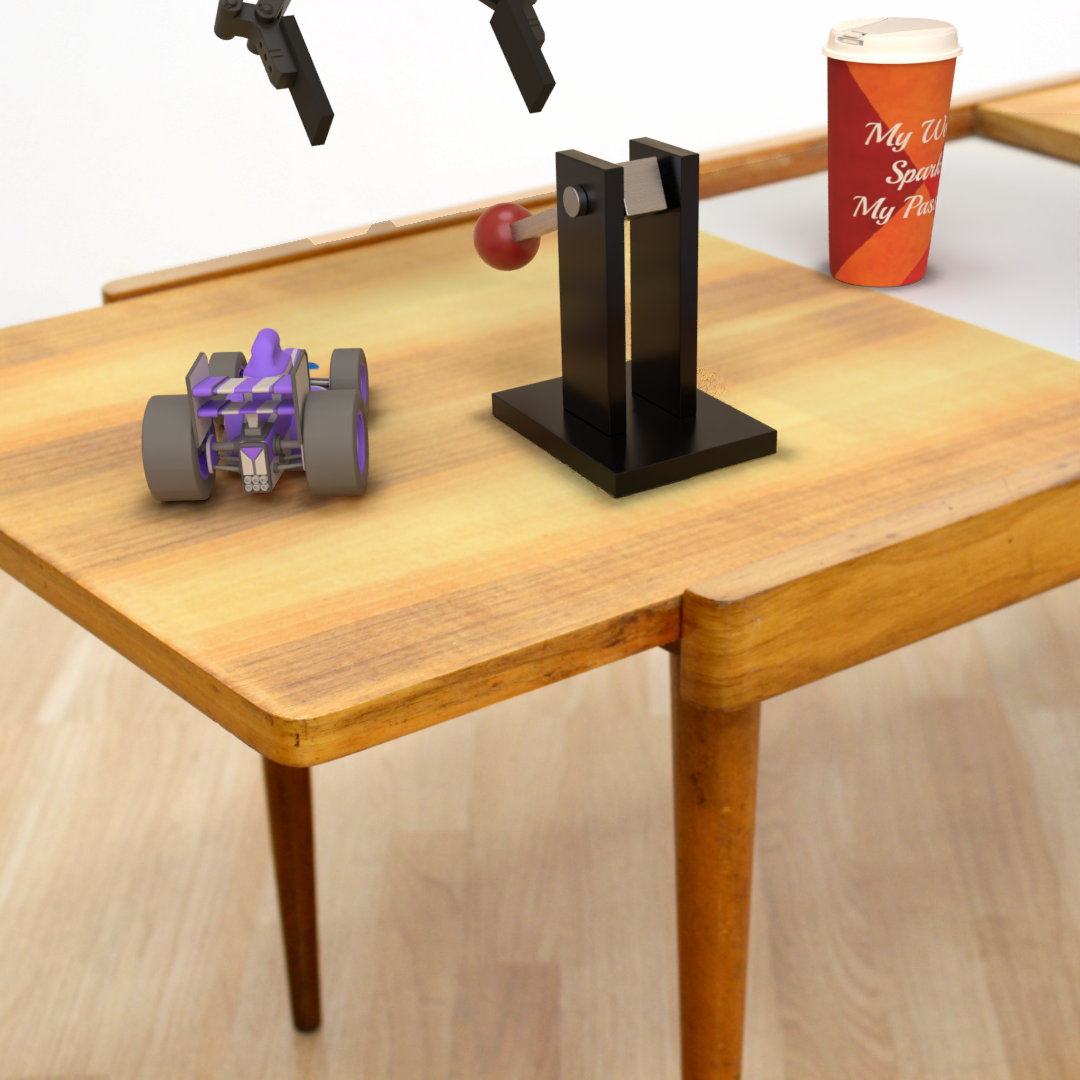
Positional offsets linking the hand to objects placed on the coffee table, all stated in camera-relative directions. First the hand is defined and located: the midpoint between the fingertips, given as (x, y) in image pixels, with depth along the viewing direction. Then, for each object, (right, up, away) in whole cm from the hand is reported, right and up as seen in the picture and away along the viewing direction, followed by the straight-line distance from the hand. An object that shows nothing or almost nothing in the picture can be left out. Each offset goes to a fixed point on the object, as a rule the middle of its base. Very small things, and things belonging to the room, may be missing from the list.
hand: (436, 115), depth 86 cm
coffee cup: (+27, -7, +12) cm, 30 cm away
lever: (+7, -9, -9) cm, 15 cm away
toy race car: (-7, -19, -10) cm, 23 cm away
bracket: (+10, -18, -10) cm, 23 cm away
